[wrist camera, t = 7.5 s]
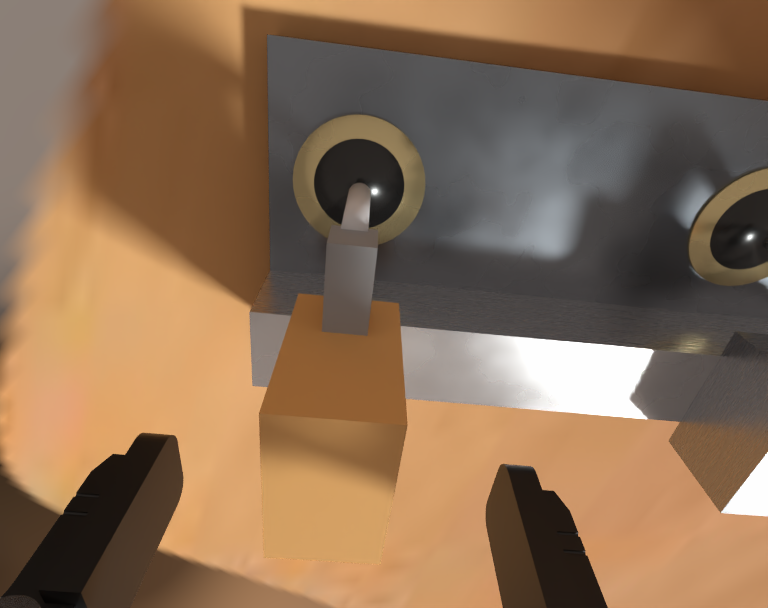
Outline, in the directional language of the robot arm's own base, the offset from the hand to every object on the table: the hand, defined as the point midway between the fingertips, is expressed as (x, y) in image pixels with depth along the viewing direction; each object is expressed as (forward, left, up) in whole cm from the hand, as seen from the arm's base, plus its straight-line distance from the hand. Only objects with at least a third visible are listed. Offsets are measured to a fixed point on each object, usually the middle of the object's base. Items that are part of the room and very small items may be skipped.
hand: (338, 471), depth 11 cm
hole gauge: (-8, -3, -8) cm, 12 cm away
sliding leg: (0, -2, -6) cm, 7 cm away
